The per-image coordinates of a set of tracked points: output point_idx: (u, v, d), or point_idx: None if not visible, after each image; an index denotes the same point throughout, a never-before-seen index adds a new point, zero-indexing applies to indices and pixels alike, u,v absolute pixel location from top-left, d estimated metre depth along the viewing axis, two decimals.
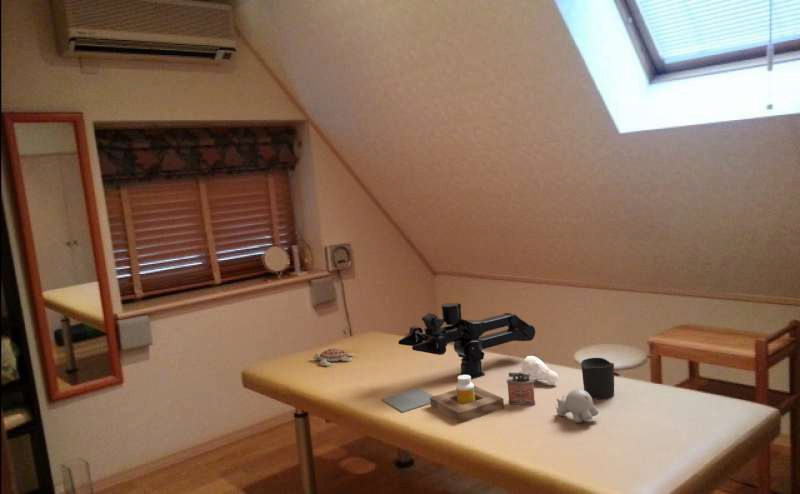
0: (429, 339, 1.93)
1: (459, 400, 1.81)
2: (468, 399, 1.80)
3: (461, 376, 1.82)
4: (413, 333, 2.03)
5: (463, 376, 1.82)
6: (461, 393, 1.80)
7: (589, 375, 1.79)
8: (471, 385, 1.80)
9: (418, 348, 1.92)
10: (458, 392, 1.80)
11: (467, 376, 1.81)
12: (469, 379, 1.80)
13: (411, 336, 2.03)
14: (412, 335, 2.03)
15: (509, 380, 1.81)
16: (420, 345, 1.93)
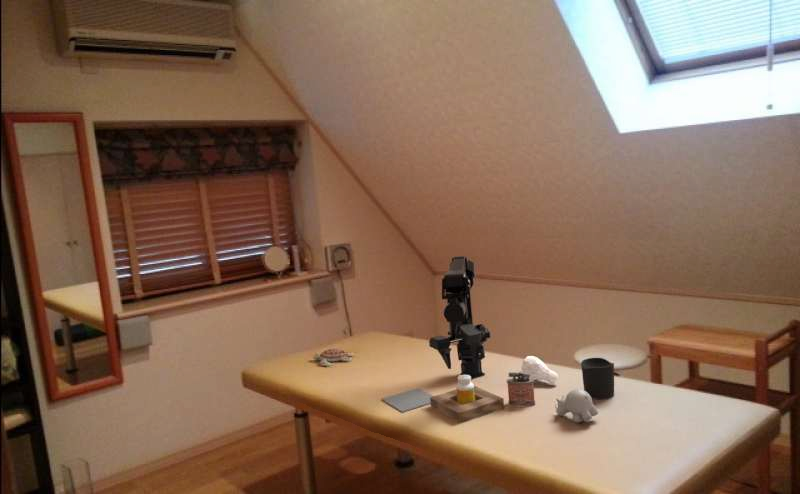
0: (480, 343, 1.81)
1: (459, 400, 1.81)
2: (468, 399, 1.80)
3: (461, 376, 1.82)
4: None
5: (463, 376, 1.82)
6: (461, 393, 1.80)
7: (589, 375, 1.79)
8: (471, 385, 1.80)
9: None
10: (458, 392, 1.80)
11: (467, 376, 1.81)
12: (469, 379, 1.80)
13: None
14: None
15: (509, 380, 1.81)
16: None
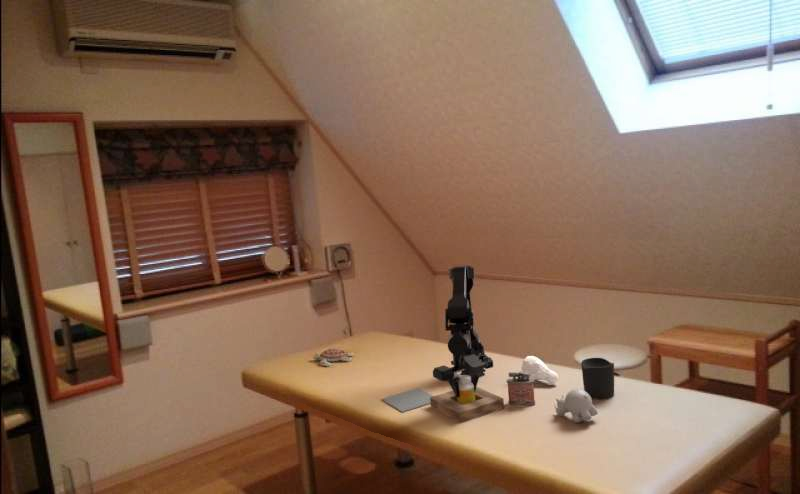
0: (479, 374, 1.82)
1: (459, 400, 1.81)
2: (468, 399, 1.80)
3: (461, 376, 1.82)
4: None
5: (463, 376, 1.82)
6: (461, 393, 1.80)
7: (589, 375, 1.79)
8: (471, 385, 1.80)
9: None
10: None
11: (467, 376, 1.81)
12: (469, 379, 1.80)
13: None
14: None
15: (509, 380, 1.81)
16: None
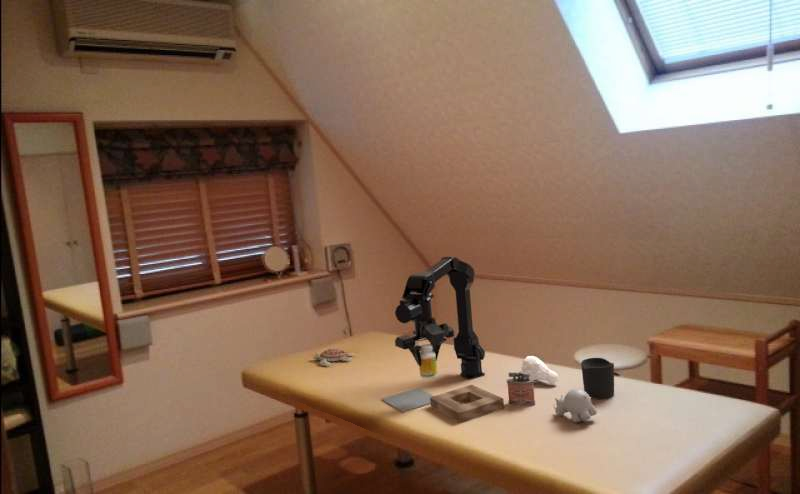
0: (440, 343, 1.87)
1: (421, 368, 1.86)
2: (430, 368, 1.85)
3: (423, 345, 1.87)
4: None
5: (425, 345, 1.87)
6: (423, 361, 1.85)
7: (589, 375, 1.79)
8: (432, 354, 1.85)
9: None
10: None
11: (429, 345, 1.87)
12: (431, 348, 1.85)
13: None
14: None
15: (509, 380, 1.81)
16: None
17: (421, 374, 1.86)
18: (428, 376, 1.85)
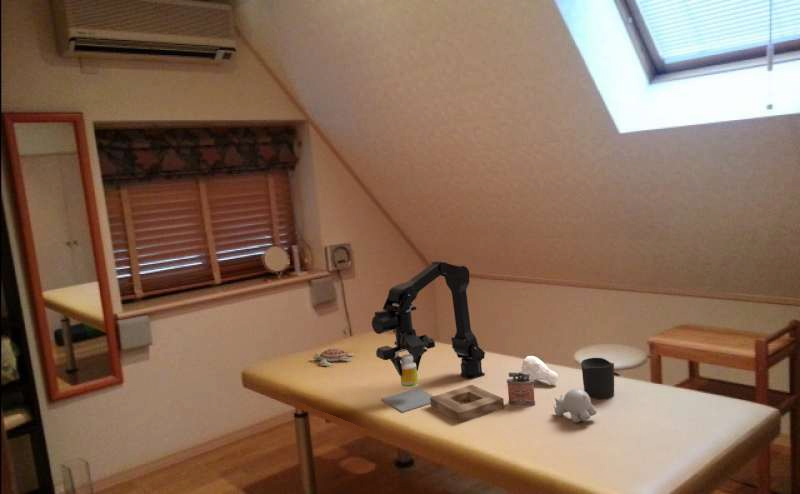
0: (421, 354, 1.91)
1: (402, 378, 1.90)
2: (410, 378, 1.89)
3: (404, 356, 1.91)
4: None
5: (406, 356, 1.91)
6: (403, 371, 1.89)
7: (589, 375, 1.79)
8: (413, 364, 1.90)
9: None
10: None
11: (410, 356, 1.91)
12: (411, 358, 1.90)
13: None
14: None
15: (509, 380, 1.81)
16: None
17: (402, 384, 1.91)
18: (409, 386, 1.89)
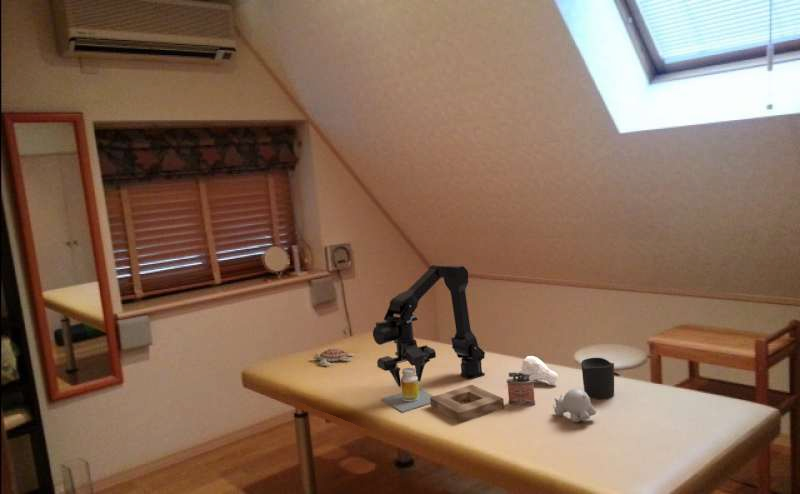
0: (424, 364, 1.92)
1: (403, 391, 1.91)
2: (412, 391, 1.90)
3: (406, 369, 1.92)
4: None
5: (408, 369, 1.92)
6: (405, 385, 1.90)
7: (589, 375, 1.79)
8: (415, 377, 1.90)
9: None
10: (402, 384, 1.91)
11: (411, 369, 1.92)
12: (413, 372, 1.90)
13: None
14: None
15: (509, 380, 1.81)
16: None
17: (403, 397, 1.91)
18: (410, 399, 1.90)
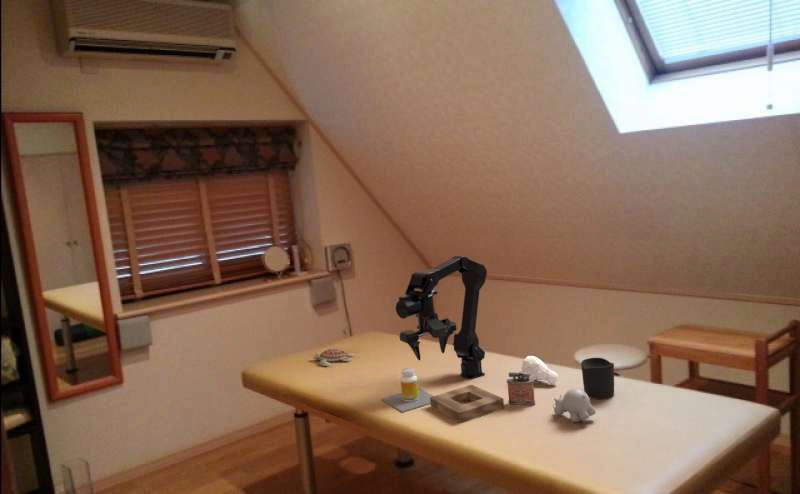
0: (447, 336, 1.97)
1: (403, 392, 1.91)
2: (412, 391, 1.90)
3: (405, 369, 1.92)
4: None
5: (407, 369, 1.92)
6: (404, 385, 1.90)
7: (589, 375, 1.79)
8: (414, 378, 1.90)
9: None
10: (402, 384, 1.90)
11: (411, 369, 1.92)
12: (412, 372, 1.90)
13: None
14: None
15: (509, 380, 1.81)
16: None
17: (403, 397, 1.91)
18: (410, 399, 1.90)
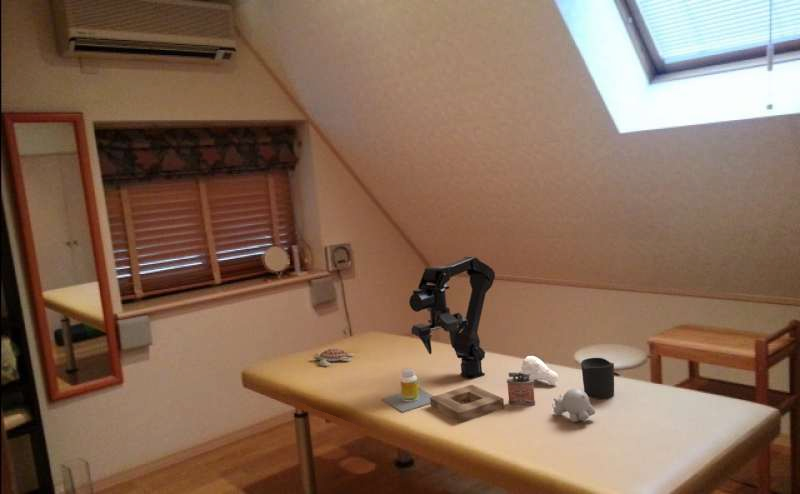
0: (458, 331, 1.99)
1: (403, 392, 1.91)
2: (412, 391, 1.90)
3: (405, 369, 1.92)
4: None
5: (407, 369, 1.92)
6: (404, 385, 1.90)
7: (589, 375, 1.79)
8: (414, 378, 1.90)
9: None
10: (402, 384, 1.90)
11: (411, 369, 1.92)
12: (412, 372, 1.90)
13: None
14: None
15: (509, 380, 1.81)
16: None
17: (403, 397, 1.91)
18: (410, 399, 1.90)
